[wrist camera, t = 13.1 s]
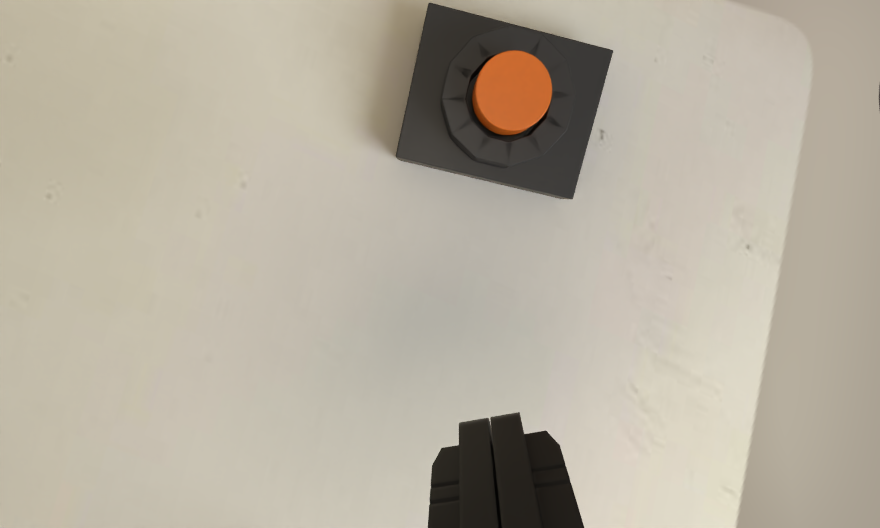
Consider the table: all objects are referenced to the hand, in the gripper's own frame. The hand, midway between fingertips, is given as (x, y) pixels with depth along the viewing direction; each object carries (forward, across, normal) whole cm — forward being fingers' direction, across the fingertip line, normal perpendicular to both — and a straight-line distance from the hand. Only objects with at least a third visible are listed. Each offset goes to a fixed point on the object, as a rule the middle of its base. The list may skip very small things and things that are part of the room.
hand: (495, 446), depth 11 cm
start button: (+15, -3, -8) cm, 17 cm away
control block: (+19, -3, -7) cm, 20 cm away
